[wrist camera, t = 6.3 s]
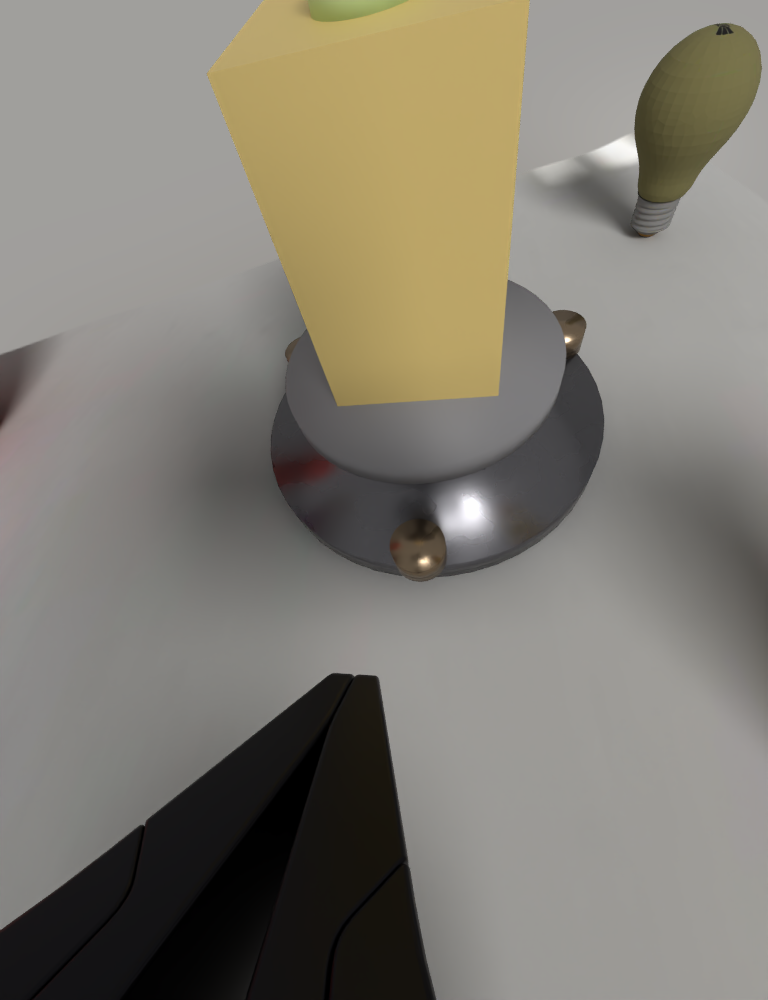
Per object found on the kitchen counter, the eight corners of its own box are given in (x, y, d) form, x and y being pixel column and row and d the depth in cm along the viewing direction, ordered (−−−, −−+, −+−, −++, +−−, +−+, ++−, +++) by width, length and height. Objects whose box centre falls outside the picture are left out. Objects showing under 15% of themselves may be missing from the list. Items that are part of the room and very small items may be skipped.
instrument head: (581, 479, 16) (829, -113, 5) (270, 488, 19) (-30, 105, 8) (544, 276, 23) (617, -184, 11) (315, 303, 25) (191, -54, 14)
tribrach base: (631, 596, 18) (663, 568, 15) (248, 587, 22) (212, 563, 19) (571, 310, 27) (584, 257, 24) (307, 336, 30) (289, 293, 27)
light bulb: (712, 238, 28) (819, 18, 19) (634, 268, 28) (707, 60, 19) (658, 202, 31) (730, -4, 22) (587, 228, 31) (633, 32, 22)
